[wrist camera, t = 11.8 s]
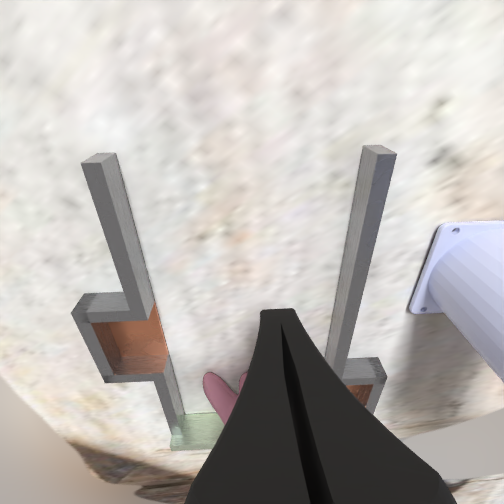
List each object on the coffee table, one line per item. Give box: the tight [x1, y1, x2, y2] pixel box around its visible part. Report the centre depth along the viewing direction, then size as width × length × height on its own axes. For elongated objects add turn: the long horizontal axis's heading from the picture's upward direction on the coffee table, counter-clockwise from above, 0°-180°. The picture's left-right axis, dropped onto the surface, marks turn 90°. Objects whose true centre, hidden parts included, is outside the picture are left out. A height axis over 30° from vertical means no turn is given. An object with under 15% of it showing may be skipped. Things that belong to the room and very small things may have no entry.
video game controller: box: [203, 372, 248, 425], centre depth 24 cm, size 10×5×7 cm, turn 134°
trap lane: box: [71, 145, 397, 451], centre depth 22 cm, size 24×28×3 cm
